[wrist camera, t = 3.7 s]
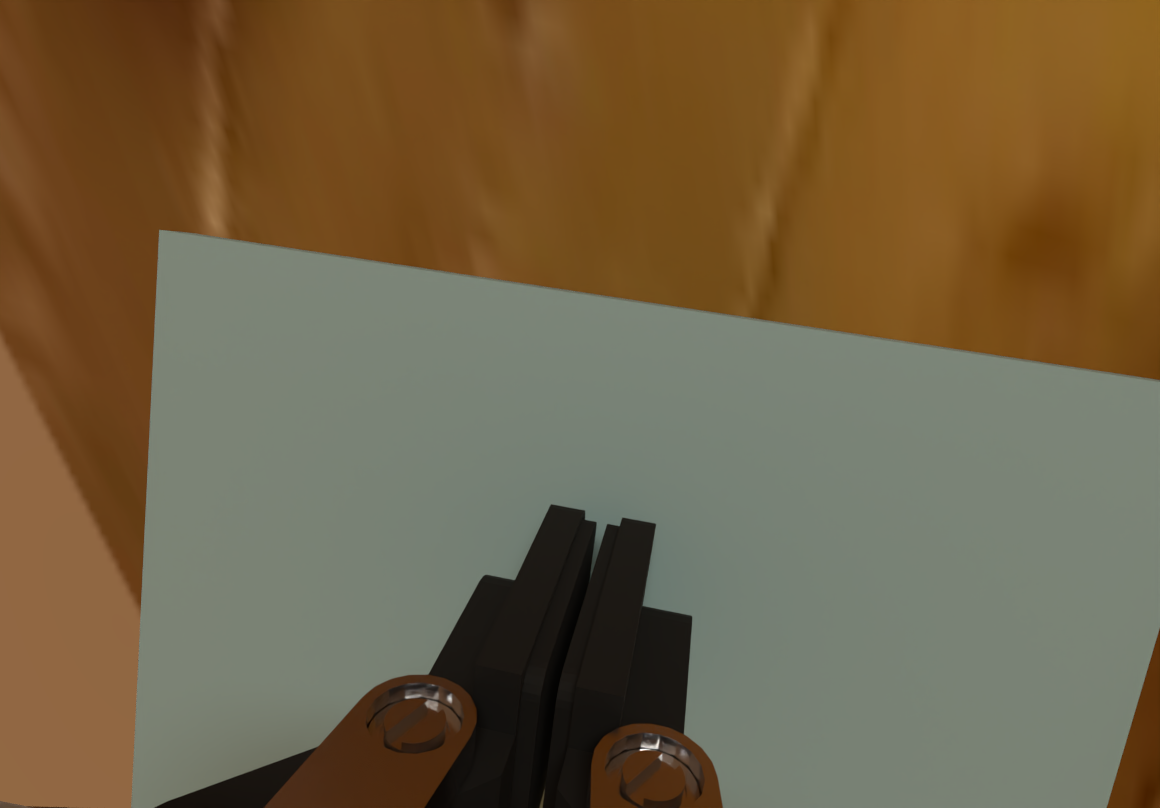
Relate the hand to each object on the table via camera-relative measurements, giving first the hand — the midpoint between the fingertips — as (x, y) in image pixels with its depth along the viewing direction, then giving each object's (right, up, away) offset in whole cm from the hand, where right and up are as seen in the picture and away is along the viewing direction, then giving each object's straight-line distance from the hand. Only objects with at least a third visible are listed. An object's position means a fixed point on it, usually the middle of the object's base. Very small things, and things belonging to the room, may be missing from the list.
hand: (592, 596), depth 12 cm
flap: (-1, -8, +2) cm, 8 cm away
